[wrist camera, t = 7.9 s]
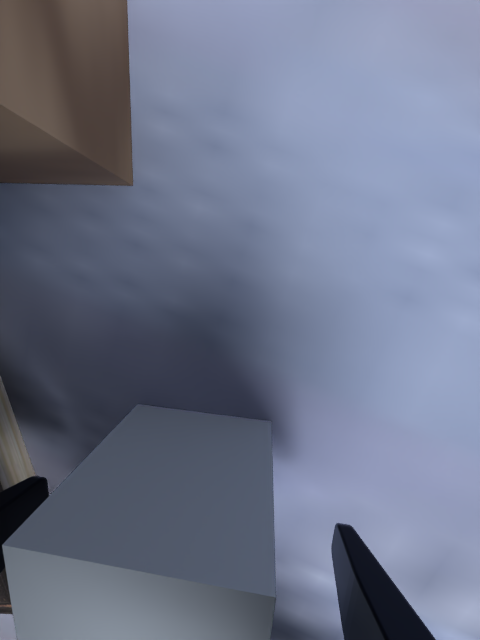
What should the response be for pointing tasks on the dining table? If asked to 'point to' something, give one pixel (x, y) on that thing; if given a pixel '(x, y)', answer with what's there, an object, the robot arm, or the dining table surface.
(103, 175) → the walnut cube
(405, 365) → the dining table surface
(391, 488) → the dining table surface
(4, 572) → the hardcover book
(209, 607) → the grey block
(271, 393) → the dining table surface
